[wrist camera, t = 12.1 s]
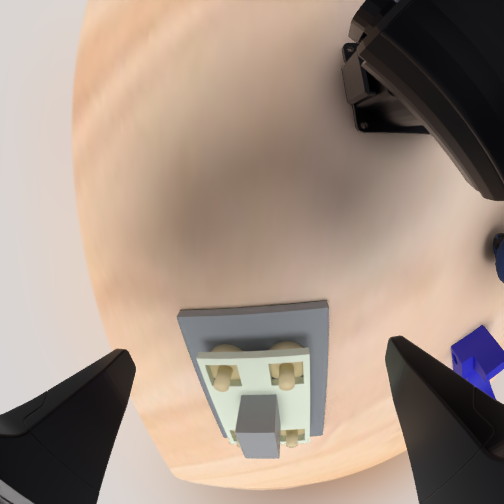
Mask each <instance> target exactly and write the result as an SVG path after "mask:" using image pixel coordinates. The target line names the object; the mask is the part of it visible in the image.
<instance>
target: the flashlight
mask: <svg viewBox="0 0 504 504" xmlns="http://www.w3.org/2000/svg"><path fill="white" fill-rule="evenodd" d="M493 249H494V254H495V257H496V262H495V265H496V271H497V274H498V277H499V279H500V280H501V281H502V282H503V283H504V233H500V234H497V235H496V237H495V238H494V242H493Z"/></svg>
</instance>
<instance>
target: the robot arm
mask: <svg viewBox="0 0 504 504" xmlns="http://www.w3.org/2000/svg"><path fill="white" fill-rule="evenodd" d="M348 37H350V38H351V39H352V40H354V41H355V42H356V43H346V44H345V45H344V46H343V48H342V53H343V57H344V62H345V65H344V66H343V67H342V74H343V79H344V84H345V90H346V96H347V102H348V103H349V104H351V105H352V106H353V112H354V120H355V126H356V129H357V130H358V131H359V132H362V133H415V134H431V135H432V136H433V137H434V139H435V140H436V141H437V142H438V143H439V145H440V146H441V147H442V148H443V150H444V151H445V152H446V153H447V155H448V156H449V157H450V159H451V160H452V161H453V163H454V164H455V165H456V167H457V168H458V170H459V171H460V172H461V174H462V175H463V177H464V178H465V180H466V181H467V182H468V183H469V184H470V185H471V186H472V187H473V188H475V189H476V190H477V191H479V192H480V193H481V195H482V197H484V198H486V199H490V200H494V201H504V0H366V1H365V2H364V3H363V5H362V6H361V7H360V8H359V10H358V11H357V13H356V14H355V16H354V17H353V19H352V21H351V26H350V31H349V36H348ZM358 42H359V43H358ZM347 48H351V49H352V51H353V52H349V51H348V50H347ZM361 122H364V123H365V124H366V128H365V129H363V128H362V127H361V126H360V124H361ZM385 362H386V367H387V372H388V377H389V381H390V387H391V392H392V397H393V401H394V405H395V408H396V412H397V415H398V418H399V422H400V425H401V429H402V432H403V436H404V440H405V443H406V447H407V451H408V455H409V459H410V463H411V467H412V471H413V476H414V480H415V485H416V490H417V494H418V500H419V503H420V504H504V404H502V403H500V402H499V401H497V400H495V399H494V398H492V397H491V396H489V395H488V394H486V393H485V392H483V391H482V390H480V389H479V388H477V387H474V385H473V384H471V383H470V382H469V381H467V380H466V379H464V378H463V377H461V376H460V375H459V374H457V373H456V372H454V371H453V370H451V369H450V368H448V367H447V366H445V365H444V364H443V363H441V362H440V361H438V360H437V359H435V358H434V357H432V356H431V355H429V354H428V353H427V352H425V351H424V350H422V349H421V348H419V347H418V346H416V345H415V344H413V343H412V342H410V341H409V340H407V339H406V338H404V337H403V336H394V337H391V338H389V340H388V345H387V350H386V355H385ZM135 373H136V366H135V364H134V362H133V360H132V358H131V356H130V354H129V352H128V351H127V350H126V349H116V350H114V351H112V352H111V353H109V354H107V355H106V356H104V357H103V358H101V359H99V360H98V361H96V362H95V363H93V364H91V365H89V366H88V367H86V368H85V369H83V370H81V371H79V372H78V373H76V374H75V375H73V376H71V377H69V378H68V379H66V380H64V381H63V382H61V383H59V384H58V385H56V386H54V387H53V388H51V389H50V390H48V391H46V392H44V393H43V394H41V395H39V396H38V397H36V398H34V399H33V400H31V401H28V402H27V403H24V404H23V405H21V406H18V407H16V408H14V409H12V410H10V411H8V412H6V413H4V414H1V415H0V504H96V503H97V500H98V496H99V491H100V488H101V484H102V481H103V478H104V474H105V471H106V467H107V464H108V461H109V458H110V455H111V451H112V448H113V445H114V442H115V439H116V436H117V433H118V430H119V427H120V424H121V421H122V418H123V416H124V413H125V410H126V407H127V404H128V400H129V396H130V392H131V388H132V384H133V380H134V376H135Z"/></svg>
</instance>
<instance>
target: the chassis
mask: <svg viewBox="0 0 504 504" xmlns="http://www.w3.org/2000/svg"><path fill="white" fill-rule="evenodd" d="M177 320H178V323H179V326H180V329H181V332H182V334H183V337H184V340H185V343H186V346H187V349H188V352H189V354H190V357H191V360H192V362H193V365H194V368H195V370H196V373H197V376H198V378H199V381H200V383H201V386H202V388H203V391H204V393H205V396H206V398H207V401H208V403H209V405H210V408H211V410H212V412H213V415H214V417H215V419H216V421H217V424H218V426H219V428H220V430H221V433H222V435H223V437H224V438H228V437H227V434H226V432H225V430H224V427H223V425H222V423H221V421H220V418H219V416H218V413H217V411H216V409H215V406H214V404H213V401H212V399H211V396H210V394H209V391H208V389H207V386H206V383H205V381H204V378H203V375H202V373H201V370H200V367H199V365H198V362H197V359H196V358H197V356H198V353H199V352H242V351H265V350H282V349H295V348H306V347H309V353H310V436H321V435H323V426H324V415H325V402H326V387H327V368H328V336H329V306H328V303H327V301H318V302H308V303H297V304H286V305H273V306H260V307H245V308H228V309H207V310H180V312H179V314H178V316H177ZM209 367H210V369H211V372H212V375H213V378H214V380H215V382H214V388H215V389H216V390H217V391H220V392H226V391H228V390H229V386H230V381H231V380H241V379H240V375H239V371H238V367H237V365H209ZM270 368H271V375H272V379H277V378H279V388H280V389H281V390H284V391H289V390H292V389H293V388H294V387H295V378H294V377H303V362H291V363H276V364H270ZM233 432H234V434H235V430H233ZM304 434H305V429H295V430H280V436H286V446H287V447H296V446H298V435H304ZM235 436H236V434H235ZM237 446H238V447H240V444H239V442H238V439H237ZM240 448H241V447H240Z"/></svg>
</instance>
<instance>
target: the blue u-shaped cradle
mask: <svg viewBox="0 0 504 504" xmlns="http://www.w3.org/2000/svg"><path fill="white" fill-rule="evenodd" d="M451 351H452V361H453V371H454V372H456V373H457V374H459V375H460V376H461V377H463V378H464V379H466V380H467V381H469V382H470V383H471V384H473V385H474V387H477V388H479V389H480V390H482V391H483V392H485V393H486V394H488V395H489V396H491V397H492V398H494V399H495V396H494V394H493V391H492V388H491V385H490V381H489V380H490V379H491V378H493V377H494V376H495V375H497V374H498V373H499V372H500V371H502V370H503V369H504V350H503V349H502V348H501V347H500V345H499V344H498V343H497V342H496V340H495V339H494V338H493V337H492V335H491V334H490V333H489V332H488V331H487V329H486V328H485V327H484V326H483V325H481V326H480V327H479V328H477V329H476V330H475V331H473V332H472V333H470V334H469V335H467V336H466V337H464V338H463V339H461V340H460V341H458V342H457V343H455V344H454V345H452V346H451ZM495 400H496V399H495Z"/></svg>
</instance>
